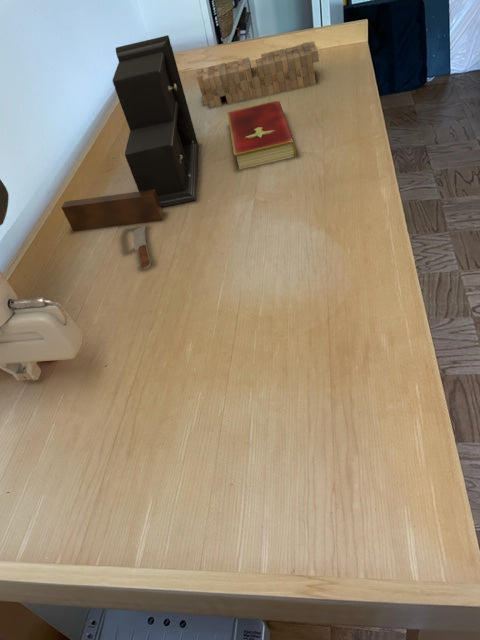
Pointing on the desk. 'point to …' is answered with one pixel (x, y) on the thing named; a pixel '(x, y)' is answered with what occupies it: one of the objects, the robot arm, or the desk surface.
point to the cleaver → (142, 247)
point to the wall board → (113, 210)
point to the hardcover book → (260, 134)
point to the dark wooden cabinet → (157, 121)
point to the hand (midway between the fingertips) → (30, 376)
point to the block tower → (259, 75)
